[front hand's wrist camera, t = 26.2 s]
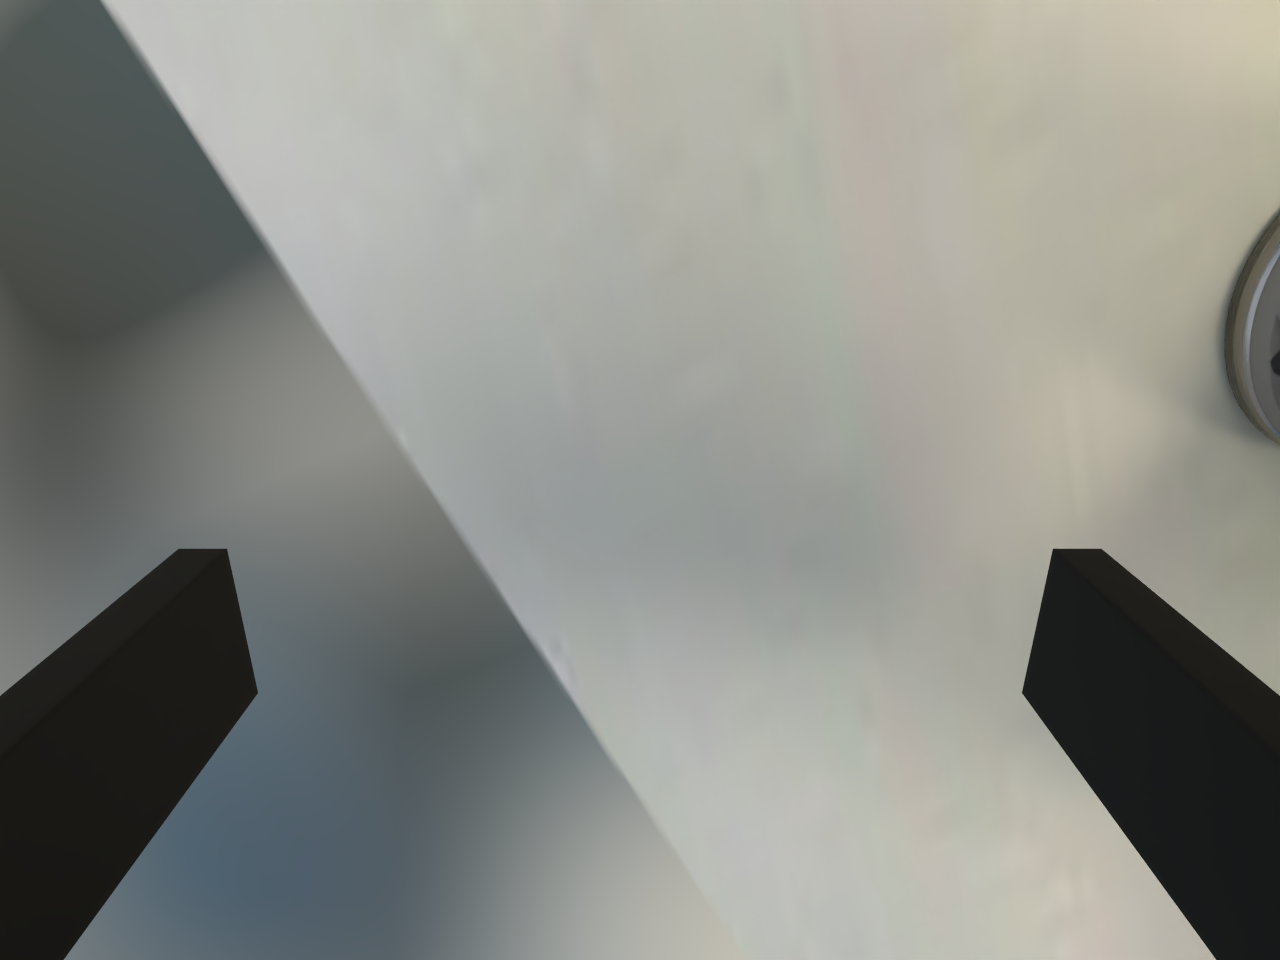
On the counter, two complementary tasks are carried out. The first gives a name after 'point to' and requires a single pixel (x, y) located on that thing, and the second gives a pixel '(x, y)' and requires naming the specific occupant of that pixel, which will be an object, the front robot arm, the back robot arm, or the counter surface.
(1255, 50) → the counter surface
